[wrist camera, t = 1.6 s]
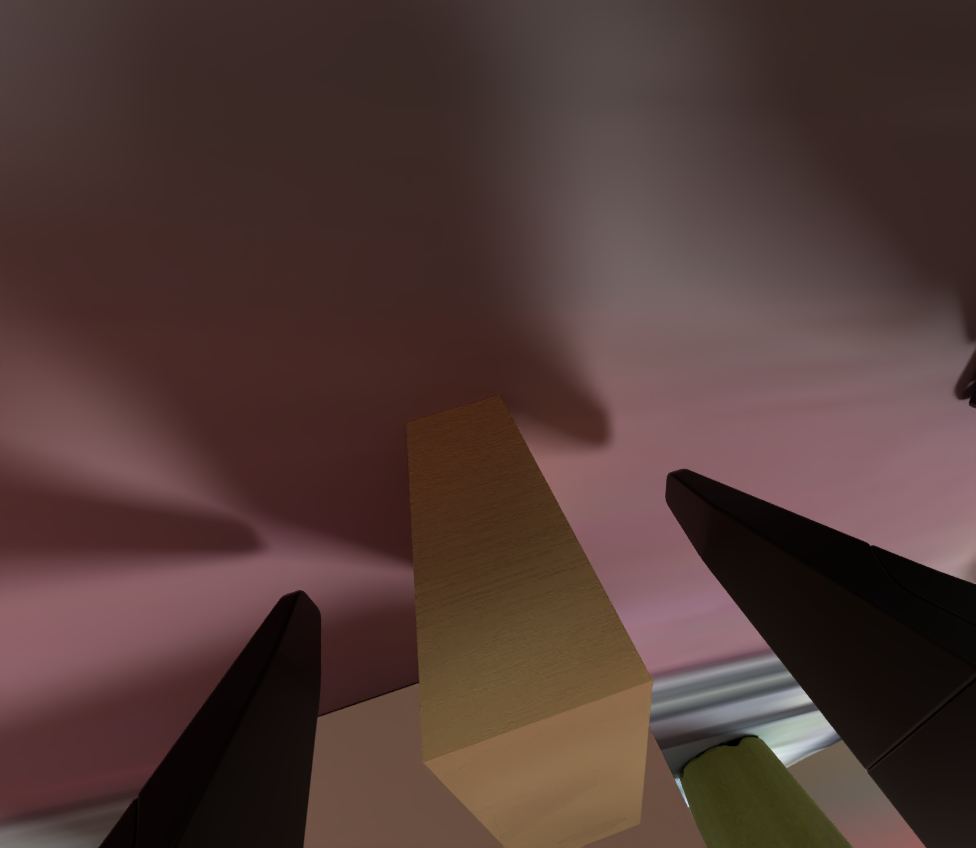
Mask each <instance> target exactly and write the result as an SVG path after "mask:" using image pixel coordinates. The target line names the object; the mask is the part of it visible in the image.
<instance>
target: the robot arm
mask: <svg viewBox="0 0 976 848" xmlns="http://www.w3.org/2000/svg"><path fill="white" fill-rule="evenodd" d="M969 406H971V407H973V408H976V390H975V392H974V393H973V395H972V397H971V399H970V401H969ZM665 498H666V502H667V504H668V506H669V508H670V510H671V511H672V513H673V514H674V516H675V518H676V519H677V521H678V522H679V524H680V526H681V527H682V529H683V530H684V532H685V534H686V535H687V537H688V538H689V540H690V542H691V543H692V545H693V546H694V548H695V549H696V551H697V553H698V554H699V556H700V557H701V559H702V560H703V561H704V563H705V564H706V565H707V567H708V568H709V569H710V571H711V572H712V573H713V575H714V576H715V577H716V578H717V580H718V581H719V582H720V584H721V585H722V586H723V587H724V589H725V590H726V591H727V593H728V594H729V595H730V596H731V598H732V599H733V600H734V602H735V603H736V604H737V605H738V607H739V608H740V609H741V611H742V612H743V613H744V614H745V616H746V617H747V618H748V619H749V621H750V622H751V623H752V625H753V626H754V627H755V628H756V630H757V631H758V632H759V634H760V635H761V636H762V637H763V639H764V640H765V641H766V643H767V644H768V645H769V646H770V648H771V649H772V650H773V652H774V653H775V654H776V655H777V657H778V658H779V659H780V661H781V662H782V663H783V664H784V666H785V667H786V668H787V670H788V671H789V672H790V673H791V675H792V676H793V677H794V678H795V680H796V681H797V682H798V684H799V685H800V686H801V687H802V689H803V690H804V691H805V693H806V694H807V695H808V696H809V698H810V699H811V700H812V702H813V703H814V704H815V705H816V707H817V708H818V709H819V711H820V712H821V713H822V714H823V716H824V717H825V718H826V720H827V721H828V722H829V723H830V725H831V726H832V727H833V728H834V730H835V731H836V732H837V734H838V735H839V736H840V737H841V739H842V740H843V741H844V742H845V744H846V745H847V746H848V748H849V749H850V750H851V751H852V753H853V754H854V755H855V757H856V758H857V759H858V760H859V762H860V763H861V764H862V766H863V767H864V768H865V769H866V770H867V772H868V774H869V775H870V776H871V778H872V779H873V780H874V781H875V783H876V784H877V785H878V787H879V788H880V789H881V790H882V792H883V793H884V794H885V796H886V797H887V798H888V799H889V801H890V802H891V803H892V805H893V806H894V807H895V808H896V810H897V811H898V812H899V814H900V815H901V816H902V817H903V819H904V820H905V821H906V823H907V824H908V825H909V826H910V828H911V829H912V830H913V831H914V833H915V834H916V835H917V836H918V838H919V839H920V840H921V842H922V843H923V844H924V845H925V847H926V848H976V584H973V583H970V582H968V581H965V580H962V579H959V578H957V577H954V576H951V575H948V574H946V573H943V572H940V571H937V570H935V569H932V568H930V567H927V566H925V565H922V564H919V563H917V562H914V561H912V560H909V559H907V558H904V557H902V556H899V555H897V554H894V553H892V552H889V551H887V550H884V549H882V548H879V547H877V546H874V545H871V546H870V545H869V544H868V543H867V542H864V541H862V540H859V539H857V538H855V537H852V536H850V535H847V534H845V533H842V532H840V531H837V530H835V529H833V528H830V527H828V526H825V525H823V524H820V523H818V522H815V521H813V520H810V519H808V518H806V517H803V516H801V515H798V514H796V513H793V512H791V511H788V510H786V509H784V508H781V507H779V506H776V505H774V504H771V503H769V502H766V501H764V500H761V499H759V498H757V497H754V496H752V495H749V494H747V493H744V492H742V491H739V490H737V489H735V488H732V487H730V486H727V485H725V484H722V483H720V482H717V481H715V480H712V479H710V478H708V477H705V476H703V475H700V474H698V473H695V472H693V471H690V470H688V469H680V470H676V471H673V472H670V473H669V474H668V475H667V480H666V493H665ZM320 686H321V614H320V611H319V609H318V607H317V606H316V605H315V604H314V602H313V601H312V600H311V599H310V598H309V596H308V595H307V594H306V593H305V592H304V591H302V590H298V591H295V592H292V593H289V594H286V595H284V596H282V597H281V598H280V600H279V601H278V602H277V604H276V605H275V606H274V608H273V609H272V611H271V612H270V613H269V615H268V616H267V617H266V619H265V620H264V622H263V623H262V624H261V626H260V627H259V628H258V630H257V631H256V632H255V634H254V635H253V637H252V638H251V639H250V641H249V642H248V643H247V645H246V646H245V648H244V649H243V650H242V652H241V653H240V654H239V656H238V657H237V659H236V660H235V661H234V663H233V664H232V665H231V667H230V668H229V670H228V671H227V672H226V674H225V675H224V676H223V678H222V679H221V681H220V682H219V683H218V685H217V686H216V687H215V689H214V690H213V692H212V693H211V694H210V696H209V697H208V698H207V700H206V701H205V703H204V704H203V705H202V707H201V708H200V709H199V711H198V712H197V714H196V715H195V716H194V718H193V719H192V720H191V722H190V723H189V725H188V726H187V727H186V729H185V730H184V731H183V733H182V734H181V736H180V737H179V738H178V740H177V741H176V742H175V744H174V745H173V747H172V748H171V749H170V751H169V752H168V753H167V755H166V756H165V758H164V759H163V760H162V762H161V763H160V764H159V766H158V767H157V769H156V770H155V771H154V773H153V774H152V775H151V777H150V778H149V780H148V781H147V782H146V784H145V785H144V786H143V788H142V789H141V791H140V792H139V794H138V798H136V799H134V800H133V801H132V803H131V804H130V805H129V807H128V808H127V810H126V811H125V812H124V814H123V815H122V816H121V818H120V819H119V821H118V822H117V823H116V825H115V826H114V827H113V829H112V830H111V831H110V833H109V834H108V835H107V837H106V838H105V840H104V841H103V842H102V844H101V845H100V846H99V848H304V838H305V829H306V820H307V811H308V801H309V792H310V783H311V774H312V764H313V755H314V746H315V737H316V727H317V718H318V709H319V699H320Z"/></svg>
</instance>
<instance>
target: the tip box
mask: <svg viewBox="0 0 976 848" xmlns="http://www.w3.org/2000/svg"><path fill="white" fill-rule="evenodd" d="M304 848H505V847H504V846H503V845H502V844H501V843H500V842H499V841H498V840H497V839H496V838H495V837H494V836H493V835H492V834H491V832H490V831H489V830H488V829H487V828H486V827H485V826H484V825H483V824H482V823H481V822H480V821H479V820H478V819H477V818H476V817H475V816H474V815H473V814H472V813H471V812H470V811H469V810H468V809H467V808H466V806H465V805H464V804H463V803H462V802H461V801H460V800H459V799H458V798H457V797H456V796H455V795H454V794H453V793H452V792H451V791H450V790H449V789H448V788H447V787H446V786H445V785H444V784H443V783H442V782H441V781H440V779H439V778H438V777H437V776H436V775H435V774H434V773H433V772H432V771H431V770H430V769H429V768H428V767H427V766H426V765H425V764H424V763H423V748H422V728H421V708H420V688H419V683H418V684H415V685H412V686H409V687H406V688H403V689H400V690H397V691H394V692H391V693H388V694H385V695H382V696H379V697H376V698H373V699H371V700H368V701H365V702H362V703H359V704H356V705H353V706H350V707H347V708H344V709H341V710H338V711H335V712H332V713H329V714H326V715H323V716H320V717H318V718H317V727H316V737H315V746H314V755H313V764H312V774H311V783H310V792H309V801H308V811H307V820H306V829H305V838H304ZM579 848H707V846H706V844H705V842H704V840H703V838H702V836H701V834H700V832H699V829H698V827H697V825H696V823H695V821H694V819H693V817H692V815H691V813H690V811H689V809H688V806H687V804H686V802H685V800H684V798H683V796H682V794H681V792H680V790H679V788H678V786H677V784H676V781H675V779H674V777H673V775H672V773H671V771H670V769H669V767H668V765H667V763H666V761H665V758H664V756H663V754H662V752H661V750H660V748H659V746H658V744H657V742H656V740H655V738H654V735H653V733H652V731H651V729H650V727H649V730H648V741H647V753H646V764H645V775H644V786H643V798H642V809H641V820H640V824H639V825H636V826H633V827H631V828H628V829H626V830H623V831H620V832H618V833H615V834H613V835H610V836H607V837H605V838H602V839H600V840H597V841H594V842H592V843H589V844H587V845H584V846H581V847H579Z"/></svg>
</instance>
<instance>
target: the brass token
mask: <svg viewBox="0 0 976 848" xmlns="http://www.w3.org/2000/svg"><path fill="white" fill-rule="evenodd" d="M406 429H407V448H408V468H409V488H410V508H411V528H412V548H413V568H414V588H415V608H416V628H417V648H418V668H419V688H420V708H421V728H422V748H423V763H424V764H425V765H426V766H427V767H428V768H429V769H430V770H431V771H432V772H433V773H434V774H435V775H436V776H437V777H438V778H439V779H440V781H441V782H442V783H443V784H444V785H445V786H446V787H447V788H448V789H449V790H450V791H451V792H452V793H453V794H454V795H455V796H456V797H457V798H458V799H459V800H460V801H461V802H462V803H463V804H464V805H465V806H466V808H467V809H468V810H469V811H470V812H471V813H472V814H473V815H474V816H475V817H476V818H477V819H478V820H479V821H480V822H481V823H482V824H483V825H484V826H485V827H486V828H487V829H488V830H489V831H490V832H491V834H492V835H493V836H494V837H495V838H496V839H497V840H498V841H499V842H500V843H501V844H502V845H503V846H504V847H505V848H579V847H581V846H584V845H587V844H589V843H592V842H594V841H597V840H600V839H602V838H605V837H607V836H610V835H613V834H615V833H618V832H620V831H623V830H626V829H628V828H631V827H633V826H636V825H639V824H640V820H641V809H642V798H643V786H644V775H645V764H646V753H647V741H648V730H649V719H650V708H651V696H652V685H653V680H652V678H651V676H650V674H649V672H648V670H647V668H646V666H645V665H644V663H643V661H642V659H641V657H640V655H639V653H638V652H637V650H636V648H635V646H634V644H633V642H632V640H631V638H630V637H629V635H628V633H627V631H626V629H625V627H624V625H623V624H622V622H621V620H620V618H619V616H618V614H617V612H616V610H615V609H614V607H613V605H612V603H611V601H610V599H609V597H608V596H607V594H606V592H605V590H604V588H603V586H602V584H601V582H600V581H599V579H598V577H597V575H596V573H595V571H594V569H593V568H592V566H591V564H590V562H589V560H588V558H587V556H586V554H585V553H584V551H583V549H582V547H581V545H580V543H579V541H578V540H577V538H576V536H575V534H574V532H573V530H572V528H571V526H570V525H569V523H568V521H567V519H566V517H565V515H564V513H563V511H562V510H561V508H560V506H559V504H558V502H557V500H556V498H555V497H554V495H553V493H552V491H551V489H550V487H549V485H548V483H547V482H546V480H545V478H544V476H543V474H542V472H541V470H540V469H539V467H538V465H537V463H536V461H535V459H534V457H533V455H532V454H531V452H530V450H529V448H528V446H527V444H526V442H525V441H524V439H523V437H522V435H521V433H520V431H519V429H518V427H517V426H516V424H515V422H514V420H513V418H512V416H511V414H510V413H509V411H508V409H507V407H506V405H505V403H504V401H503V399H502V398H501V396H500V395H498V396H495V397H491V398H488V399H485V400H481V401H478V402H474V403H471V404H467V405H464V406H461V407H457V408H454V409H450V410H447V411H443V412H440V413H437V414H433V415H430V416H426V417H423V418H420V419H416V420H413V421H409V422H406Z"/></svg>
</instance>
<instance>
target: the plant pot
mask: <svg viewBox="0 0 976 848" xmlns="http://www.w3.org/2000/svg"><path fill="white" fill-rule="evenodd" d="M680 781H681V784H682V787H683V790H684V793H685V795H686V798H687V801H688V804H689V807H690V809H691V812H692V815H693V818H694V820H695V823H696V825H697V827H698V829H699V832H700V834H701V836H702V838H703V840H704V842H705V844H706V846H707V848H853V847H852V845H851V844H850V843H849V842H848V841H847V839H845V837H844V836H843V835H842V834H841V832H840V831H839V830H838V829H837V828H836V826H835V825H834V824H833V823H832V822H831V820H829V818H828V817H827V816H826V815H825V813H824V812H823V811H822V810H821V809H820V808H819V806H818V805H817V804H816V803H815V802H814V800H813V799H812V798H811V797H810V796H809V794H808V793H807V792H806V791H805V790H804V788H803V787H802V786H801V785H800V784H799V783H798V781H797V780H796V779H795V778H794V777H793V775H792V774H791V773H790V772H789V771H788V769H787V768H786V767H785V766H784V765H783V763H782V762H781V761H780V760H779V759H778V757H777V756H776V755H775V754H774V753H773V752H772V750H771V749H770V748H769V747H768V746H767V745H766V743H765V742H764V741H763V740H762V739H759V738H753V737H744V738H743V739H742V740H741V741H740V742H739V744H738V745H737V746H726V745H723V746H716V747H713V748H711V749H709V750H707V751H706V752H705V754H704V755H702V756H700V757H699V758H698V757H695V758H694V759H692V760H691V761H690V762H689V763H688V765H687V766H686V767H685V768H684V774H681V775H680Z"/></svg>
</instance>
